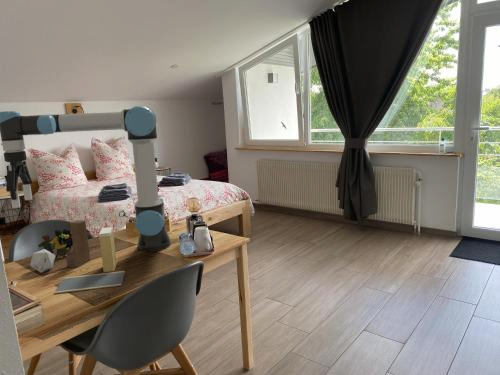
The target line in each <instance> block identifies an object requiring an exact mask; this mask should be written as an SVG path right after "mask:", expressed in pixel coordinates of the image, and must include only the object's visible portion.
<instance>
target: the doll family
mask: <svg viewBox="0 0 500 375" xmlns="http://www.w3.org/2000/svg"><path fill="white" fill-rule="evenodd" d="M86 229H87V228H86ZM90 233H91V230H90V229H87V234H90ZM41 238H42V239H43V241H42V242H40V243H39V244H38V245H37V246H38V248H43V249H45V250H47V251H49V252H51V253H52V254H54V250H56V256H57V259H63V258H64V257H67V256H68V254H67V253H68V252H72V250H73V241H72V234H71V229H68V228H66V229H63V230H60V229H57V230H56V229H55V231H54V238H52V239H51V235H50V234H44V235H42V236H41ZM54 244H55V247H54V248H53V246H52V245H54ZM53 249H54V250H53Z"/></svg>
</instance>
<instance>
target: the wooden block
mask: <svg viewBox="0 0 500 375" xmlns="http://www.w3.org/2000/svg"><path fill="white" fill-rule="evenodd" d="M69 225H70V226H69V227H70V232H71V234H72V241H73V246H72V249H73V250H72V251H70V254H67V256H65V257H66V258H65V259H66V260H65V261H66V266H67V267H68V268H69V267H70V268H77V267H79V266H81V265H83V264H85V263H87V262H89V261H91V255H90V246H89V238H88V232H87V223H86V220H83V219H82V220H81V219H77V220H74V221H71V222H70V223H69Z"/></svg>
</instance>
